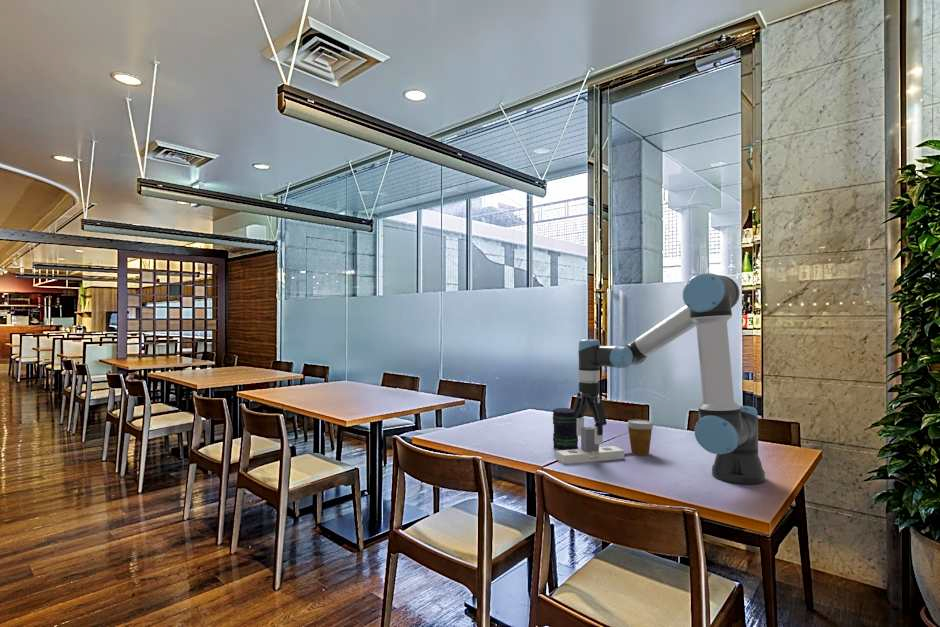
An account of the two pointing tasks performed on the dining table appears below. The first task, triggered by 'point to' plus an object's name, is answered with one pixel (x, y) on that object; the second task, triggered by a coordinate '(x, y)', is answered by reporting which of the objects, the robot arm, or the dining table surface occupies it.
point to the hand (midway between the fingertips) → (589, 439)
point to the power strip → (584, 456)
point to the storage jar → (565, 429)
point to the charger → (588, 440)
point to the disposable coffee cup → (640, 436)
